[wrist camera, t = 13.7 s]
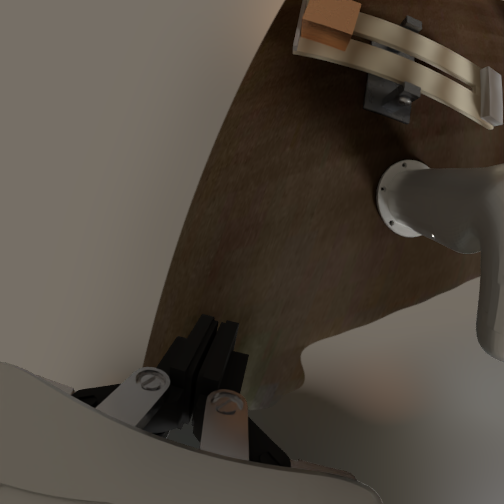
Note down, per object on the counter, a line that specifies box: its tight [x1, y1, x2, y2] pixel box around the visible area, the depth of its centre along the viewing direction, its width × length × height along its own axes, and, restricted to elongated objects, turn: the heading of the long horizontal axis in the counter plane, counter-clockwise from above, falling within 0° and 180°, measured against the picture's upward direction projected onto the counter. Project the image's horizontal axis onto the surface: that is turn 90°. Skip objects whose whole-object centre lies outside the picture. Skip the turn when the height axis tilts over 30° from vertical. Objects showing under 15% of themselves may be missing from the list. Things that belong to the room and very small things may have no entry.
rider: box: [301, 0, 361, 52], centre depth 25 cm, size 6×6×6 cm
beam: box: [293, 0, 503, 130], centre depth 25 cm, size 32×10×4 cm, turn 79°
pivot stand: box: [363, 16, 422, 124], centre depth 30 cm, size 8×16×10 cm, turn 169°
